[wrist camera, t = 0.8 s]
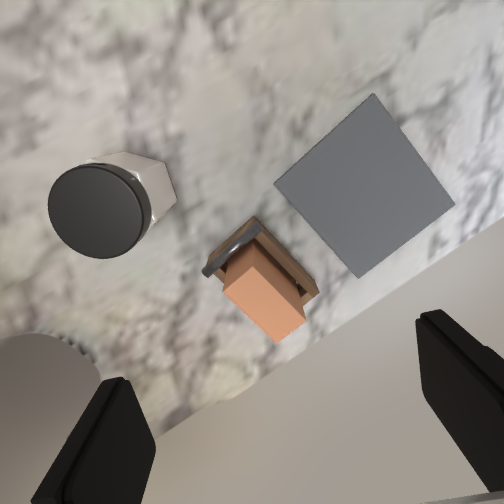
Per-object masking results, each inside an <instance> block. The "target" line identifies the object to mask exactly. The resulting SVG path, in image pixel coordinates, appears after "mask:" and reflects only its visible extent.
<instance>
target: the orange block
mask: <svg viewBox="0 0 504 504" xmlns="http://www.w3.org/2000/svg"><path fill="white" fill-rule="evenodd" d="M223 293H224V294H225V295H226V296H227V297H228V298H229V299H230V300H231V301H232V302H233V303H234V304H236V305H237V306H238V307H239V308H240V309H241V310H242V311H243V312H244V313H245V314H246V315H247V316H248V317H249V318H250V319H251V320H252V321H253V322H254V323H256V324H257V325H258V326H259V327H260V328H261V329H262V330H263V331H264V332H265V333H266V334H267V335H268V336H269V337H270V338H271V339H272V340H273V341H274V342H275V343H278V342H279V341H280V340H282V339H283V338H284V337H286V336H287V335H288V334H290V333H291V332H292V331H294V330H295V329H296V328H298V327H299V326H300V325H301V324H303V323H304V322H305V321H306V317H305V314H304V310H303V306H302V302H301V299H300V295H299V291H298V288H297V284H296V280H295V279H294V278H293V277H292V276H291V275H290V273H289V272H288V271H287V270H286V269H285V268H284V267H283V266H282V265H281V264H280V263H279V262H278V261H277V260H276V259H275V258H274V257H273V256H272V255H271V254H270V253H269V252H268V251H267V250H266V248H265V247H264V246H263V245H262V244H261V243H260V242H259V241H258V240H257V239H256V238H253V239H252V240H251V241H250V242H249V243H248V244H247V245H245V246H244V247H243V248H242V249H241V250H240V251H239V252H237V253H236V254H235V255H234V256H233V257H232V258H231V259H229V260H228V266H227V271H226V276H225V281H224V287H223Z"/></svg>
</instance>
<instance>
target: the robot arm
mask: <svg viewBox="0 0 504 504" xmlns="http://www.w3.org/2000/svg"><path fill="white" fill-rule="evenodd" d="M415 323H416V334H417V344H418V354H419V363H420V373H421V383H422V391H423V394H424V397H425V399H426V401H427V402H428V404H429V405H430V407H431V408H432V409H433V411H434V412H435V414H436V415H437V417H438V418H439V420H440V421H441V423H442V424H443V425H444V427H445V428H446V430H447V431H448V432H449V434H450V435H451V437H452V438H453V440H454V441H455V443H456V444H457V446H458V447H459V449H460V450H461V451H462V453H463V454H464V456H465V457H466V459H467V460H468V462H469V463H470V464H471V466H472V467H473V468H474V470H475V472H476V473H477V475H478V476H479V477H480V479H481V480H482V482H483V483H484V485H485V486H486V487H487V489H488V491H489V492H490V493H484V494H478V495H471V496H465V497H458V498H452V499H445V500H439V501H433V502H427V503H421V504H504V359H503V358H501V356H499V355H498V354H497V353H496V352H495V351H494V350H492V349H491V348H489V347H488V346H483V345H482V344H481V343H480V342H479V341H478V340H476V339H475V338H474V337H473V336H472V335H470V334H469V333H468V332H467V331H466V330H465V329H464V328H462V327H461V326H460V325H459V324H458V323H457V322H456V321H454V320H453V319H452V318H451V317H450V316H449V315H448V314H446V313H445V312H444V311H442V310H441V309H438V310H434V311H429V312H424V313H422V314H421V315H420V318H419V319H416V321H415ZM155 452H156V446H155V441H154V439H153V436H152V434H151V431H150V429H149V426H148V424H147V422H146V419H145V417H144V414H143V412H142V409H141V407H140V405H139V402H138V400H137V397H136V395H135V392H134V390H133V388H132V385H131V383H130V381H129V380H125V379H124V378H123V377H116V378H112V379H107V380H104V381H102V383H101V384H100V386H99V387H98V389H97V391H96V392H95V394H94V396H93V398H92V399H91V401H90V402H89V404H88V406H87V408H86V409H85V411H84V412H83V414H82V416H81V417H80V419H79V421H78V423H77V424H76V426H75V427H74V429H73V431H72V432H71V434H70V436H69V437H68V439H67V441H66V443H65V444H64V446H63V447H62V449H61V451H60V452H59V454H58V456H57V458H56V459H55V461H54V463H53V464H52V466H51V467H50V469H49V471H48V472H47V474H46V476H45V477H44V479H43V481H42V483H41V484H40V486H39V487H38V489H37V491H36V492H35V494H34V496H33V497H32V499H31V503H32V504H141V502H142V498H143V494H144V491H145V488H146V484H147V481H148V478H149V474H150V471H151V467H152V464H153V460H154V457H155Z"/></svg>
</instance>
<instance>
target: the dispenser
mask: <svg viewBox="0 0 504 504" xmlns="http://www.w3.org/2000/svg"><path fill="white" fill-rule="evenodd" d="M253 238H256V239H257V240H258V241H259V242H260V243H261V244H262V245H263V246H264V247H265V248H266V250H267V251H268V252H269V253H270V254H271V255H272V256H273V257H274V258H275V259H276V260H277V261H278V262H279V263H280V264H281V265H282V266H283V267H284V268H285V269H286V270H287V271H288V272H289V273H290V275H291V276H292V277H293V278H294V279H295V280H296V281H297V282H298V283H299V284H298V285H297V288H298V291H299V295H300V299H301V302H302V306H303V305H305V304H306V303H307V302H308V301H310V300H311V299H312V298H314V297H315V296H316V295H317V294H319V290H318V288H317V285H316V283H315V280H314V279H313V278H312V277H311V276H310V275H309V274H308V273H307V272H306V271H305V270H304V269H303V268H302V266H301V265H300V264H299V263H298V262H297V261H296V260H295V259H294V258H293V257H292V256H291V255H290V254H289V253H288V252H287V250H286V249H285V248H284V247H283V246H282V245H281V244H280V243H279V242H278V241H277V240H276V239H275V238H274V237H273V236H272V235H271V233H270V232H269V231H268V230H267V229H266V228H265V227H264V226H263V225H262V224H261V223H260V222H259V221H258V220H257V219H256V218H255V216H253V217H252V218H251V219H250V220H248V221H247V222H246V223H245V224H244V225H243V226H242V227H241V228H240V229H238V230H237V231H236V232H235V233H234V234H233V235H232V236H231V237H229V238H228V239H227V240H226V241H225V242H224V243H223V244H222V245H221V246H219V247H218V248H217V249H216V250H215V251H214V252H213V253H212V254H211V255H209V258H208V261H207V264H206V266H205V267H204V268H203V269H202V273H203V274H204V275H205V276H206V277H207V278H209V277H210V276H211V275H212V274H214V275H216V276H217V277H218V278H219V279H220V280H221V281H222V282H223V283H224V281H225V276H226V271H227V266H228V263H227V261H228V260H229V259H231V258H232V257H233V256H234V255H235V254H236V253H237V252H239V251H240V250H241V249H242V248H243V247H244V246H245V245H247V244H248V243H249V242H250V241H251V240H252V239H253Z"/></svg>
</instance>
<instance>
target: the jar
mask: <svg viewBox="0 0 504 504" xmlns="http://www.w3.org/2000/svg"><path fill="white" fill-rule="evenodd" d="M176 202H177V198H176V195H175V192H174V190H173V187H172V184H171V181H170V178H169V175H168V172H167V169H166V166H165V163H164V162H161V161H157V160H153V159H150V158H146V157H143V156H139V155H135V154H132V153H128V152H121V153H116V154H111V155H106V156H101V157H96V158H91V159H88V160H87V161H86V162H85V163H84V164H83V165H79V166H77V167H74V168H72V169H70V170H68V171H66V172H65V173H63V174H62V175H61V176H60V177H59V178H58V179H57V180H56V181H55V183H54V184H53V186H52V188H51V190H50V193H49V198H48V213H49V218H50V221H51V223H52V226H53V228H54V230H55V231H56V233H57V234H58V236H59V237H60V238H61V239H62V240H63V241H64V243H66V244H67V245H68V246H69V247H70V248H72V249H73V250H75V251H76V252H78V253H80V254H83V255H85V256H88V257H92V258H97V259H109V258H114V257H118V256H120V255H123V254H125V253H126V252H128V251H129V250H130V249H132V248H133V247H134V246H135V245H136V244H137V243H138V242H139V241H140V240H141V239H142V238H143V236H144V235H145V234H146V233H147V232H148V231H149V230H150V229H151V228H152V227H153V226H154V225H155V224H156V223H157V222H158V221H159V220H160V219H161V218H162V217H163V216H164V215H165V213H166V212H167V211H168V210H169V209H170V208H171V207H172V206H173V205H174V204H175V203H176Z"/></svg>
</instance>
